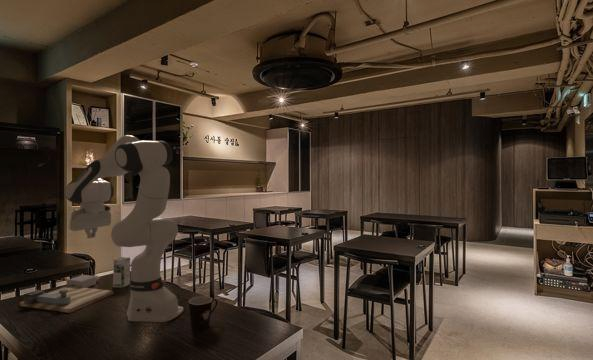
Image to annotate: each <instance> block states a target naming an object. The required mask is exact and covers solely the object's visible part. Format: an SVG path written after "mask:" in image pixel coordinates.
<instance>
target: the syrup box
mask: <svg viewBox="0 0 593 360" xmlns="http://www.w3.org/2000/svg"><path fill="white" fill-rule="evenodd" d="M112 271H113V272H112V273H113V276H112V277H113V278H112V279H113V280H112V282H113V283H112V287H113V288H119V289H120V288H121V289H123V288H126V287H127V286H130V285H129V284H130V279H131V256H128V257H127V256H119V257H118V256H117V257H115V258H113V270H112Z"/></svg>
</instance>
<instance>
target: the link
mask: <svg viewBox="0 0 593 360" xmlns="http://www.w3.org/2000/svg"><path fill="white" fill-rule="evenodd" d="M36 302H42V303H50V304H56V305H65V304H68V303H70V302H71V296H70V295H66V297H63V298H61V295H59V294H50V293H48V292H45V293H42V294H39V295H36Z"/></svg>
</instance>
